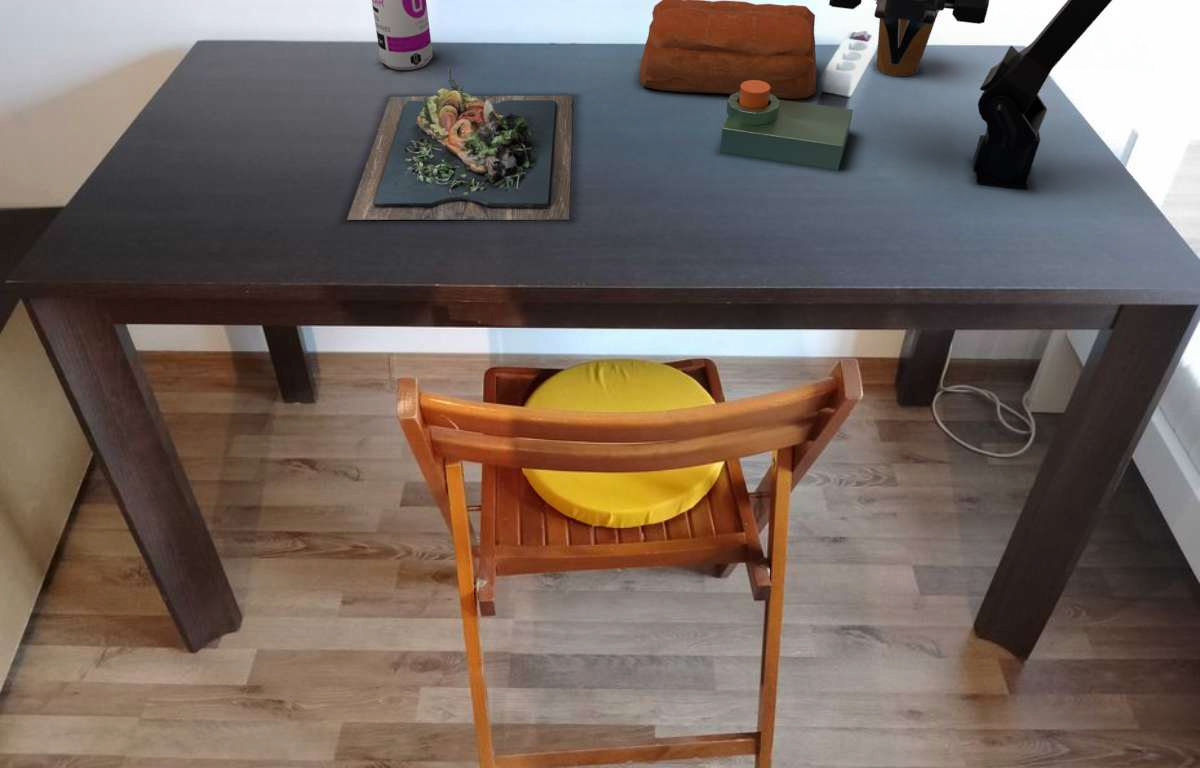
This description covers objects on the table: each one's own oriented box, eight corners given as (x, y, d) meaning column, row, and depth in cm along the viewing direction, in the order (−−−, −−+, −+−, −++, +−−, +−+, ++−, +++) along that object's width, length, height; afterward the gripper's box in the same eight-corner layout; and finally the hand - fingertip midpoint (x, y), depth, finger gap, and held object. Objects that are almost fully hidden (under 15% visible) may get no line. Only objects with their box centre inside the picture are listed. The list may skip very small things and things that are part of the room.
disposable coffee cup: (855, 60, 156) (868, -17, 148) (907, 53, 159) (924, -23, 151) (885, 84, 150) (901, 6, 142) (939, 76, 152) (958, -2, 144)
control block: (848, 133, 138) (855, 97, 134) (838, 171, 130) (844, 133, 126) (733, 117, 142) (737, 81, 138) (716, 152, 134) (720, 115, 130)
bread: (815, 105, 144) (826, 34, 137) (635, 93, 147) (637, 23, 140) (814, 62, 156) (824, -5, 149) (647, 52, 159) (649, -15, 152)
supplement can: (443, 57, 157) (433, -39, 147) (409, 76, 152) (396, -23, 142) (404, 46, 160) (391, -49, 151) (370, 64, 155) (354, -33, 145)
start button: (770, 99, 134) (772, 82, 133) (765, 112, 132) (767, 94, 130) (742, 95, 135) (743, 78, 134) (736, 108, 133) (737, 90, 131)
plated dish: (385, 96, 147) (379, 49, 142) (573, 97, 147) (572, 50, 142) (346, 225, 121) (337, 172, 116) (574, 225, 121) (574, 172, 117)
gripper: (833, -50, 113) (813, 79, 123) (1002, -33, 109) (967, 99, 119) (845, -79, 121) (826, 45, 131) (1003, -64, 117) (970, 63, 127)
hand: (895, 63), depth 127 cm, fingers closed
